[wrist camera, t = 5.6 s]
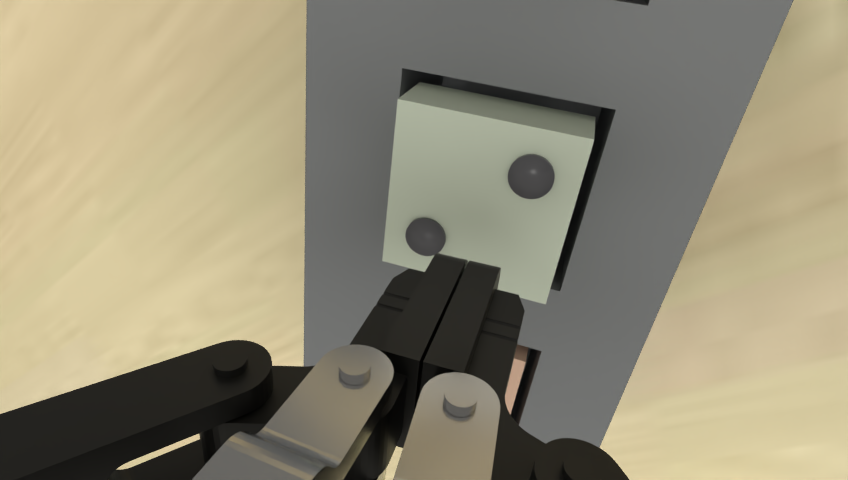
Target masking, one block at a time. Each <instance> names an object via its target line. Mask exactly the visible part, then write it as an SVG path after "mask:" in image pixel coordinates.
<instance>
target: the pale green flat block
mask: <svg viewBox="0 0 848 480" xmlns="http://www.w3.org/2000/svg"><path fill="white" fill-rule="evenodd" d="M594 137H595V117H593V116H588V115H583V114H578V113H573V112H568V111H563V110H558V109H553V108H548V107H543V106H538V105H533V104H528V103H523V102H518V101H513V100H508V99H503V98H498V97H493V96H488V95H483V94H478V93H473V92H468V91H463V90H458V89H453V88H448V87H443V86H438V85H433V84H428V83H423V82H419V83H418V84H417V85H415V86H414V87H413V88H411V89H410V90H409V91H407V92H406V93H405V94H404V95H402V96H401V97H400V98H398V101H397V112H396V122H395V132H394V143H393V153H392V164H391V174H390V185H389V195H388V205H387V216H386V226H385V237H384V247H383V258H382V261H384V262H388V263H392V264H395V265H399V266H403V267H407V268H411V269H414V270H419V271H423V272H425V271H426V269H427V267H428V266H429V264H430V262H431V260H432V259H433V257H434V255H435V254H436V253H440V254H444V255H448V256H453V257H457V258H461V259H466V260H468V262H469V261H475V262H479V263H483V264H487V265H492V266H496V267H500V268H501V272H500V278H499V284H498V289H497V290H501V291H505V292H509V293H514V294H518V295H519V297H520V298H523V299H527V300H531V301H534V302H538V303H542V304H546V302H547V298H548V295H549V291H550V288H551V285H552V281H553V278H554V275H555V271H556V268H557V264H558V261H559V258H560V254H561V251H562V247H563V244H564V241H565V237H566V234H567V231H568V227H569V224H570V220H571V217H572V214H573V210H574V207H575V204H576V200H577V197H578V193H579V190H580V187H581V183H582V180H583V176H584V173H585V170H586V166H587V163H588V160H589V156H590V153H591V149H592V146H593V143H594Z"/></svg>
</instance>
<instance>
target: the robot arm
mask: <svg viewBox="0 0 848 480" xmlns="http://www.w3.org/2000/svg"><path fill="white" fill-rule="evenodd" d="M500 272H501V268H500V267H496V266H492V265H487V264H483V263H479V262H475V261H469V262H468V260H466V259H461V258H457V257H453V256H448V255H444V254H440V253H436V254H435V255H434V257H433V259H432V260H431V262H430V264H429V266H428V267H427V269H426V271H425V272H423V271H419V270H414V269H410V268H409V269H407V270H406V271H404V272H402V273H401V274H399V275H397V276H395V277H394V278H393V279H392V280H391V282H390V283H389V285H388V286H387V288H386V289H385V291H384V294H382V296H381V297H380V299H379V300H378V302H377V304H376V306H374V308H373V309H372V311H371V312H370V314H369V315H368V317H367V318H366V320H365V322H364V323H363V325H362V326H361V328H360V329H359V331H358V332H357V334H356V335H355V337H354V338H353V340H352V341H351V343H350V345H345V346H341V347H338V348H335V349H333V350H331V351H329V352H328V353H327V354H325V355H324V356H323V357H322V358H321V359H320V360H319V362H318V363H317V364H316V365H315V366H304V367H297V366H272V361H271V356H270V354H269V353H268V351H267V350H266V349H265V348H264V347H262V346H261V345H259V344H257V343H254V342H250V341H244V340H232V341H226V342H222V343H218V344H215V345H212V346H209V347H206V348H203V349H200V350H197V351H194V352H190V353H187V354H184V355H181V356H178V357H175V358H172V359H169V360H166V361H163V362H160V363H157V364H153V365H150V366H147V367H144V368H141V369H138V370H135V371H132V372H129V373H126V374H123V375H120V376H117V377H113V378H110V379H107V380H104V381H101V382H98V383H95V384H92V385H89V386H86V387H83V388H80V389H76V390H73V391H70V392H67V393H64V394H61V395H58V396H55V397H52V398H49V399H46V400H43V401H39V402H36V403H33V404H30V405H27V406H24V407H21V408H18V409H15V410H12V411H9V412H6V413H2V414H0V480H384V479H385V475H386V467H387V466H388V464H389V461H390V459H391V457H392V454H393V452H394V450H395V447H396V446H398V447H401V448H403V450H402V453H401V457H400V460H399V463H398V466H397V469H396V472H395V476H394V479H393V480H629V479H628V477H627V476H626V475H625V473H624V472H623V471H622V469H621V468H620V467H619V466H618V464H617V463H616V462H615V461H614V460H613V459H612V457H610V456H609V455H608V454H607V453H606V452H605V451H603V450H602V449H600V448H599V447H597V446H595V445H593V444H591V443H589V442H586V441H583V440H579V439H574V438H560V439H555V440H552V441H550V442H548V443H546V444H545V443H544V442H542V441H540V440H539V439H537V438H535V437H534V436H532V435H531V434H529V433H528V432H526V431H525V430H524V429H522V428H521V427H520V426H519V425H518V424H517V423H516V422H515V421H514V419H513V418H512V416H511V415H510V413H509V411H508V409H507V406H506V403H505V394H506V390H507V386H508V382H509V377H510V373H511V369H512V365H513V361H514V356H515V352H516V347H517V343H518V338H519V334H520V330H521V325H522V321H523V316H524V312H525V310H524V307H523V305H522V302H521V300H520V297H519V295H518V294H514V293H509V292H505V291H501V290H497V289H498V284H499V278H500ZM198 433H199V434H200V440H197V441H195V442H192V443H190V444H187V445H185V446H182V447H180V448H178V449H175V450H173V451H170V452H168V453H165V454H163V455H160V456H158V457H156V458H153V459H151V460H148V461H146V462H143V463H141V464H138V465H136V466H134V467H131V468H128V469H123V470H116V469H117V468H118V467H120V466H121V465H123V464H125V463H127V462H129V461H131V460H134V459H136V458H139V457H141V456H144V455H146V454H149V453H151V452H154V451H156V450H159V449H161V448H164V447H166V446H169V445H171V444H174V443H176V442H179V441H181V440H183V439H186V438H188V437H191V436H193V435H196V434H198Z"/></svg>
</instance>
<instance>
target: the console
mask: <svg viewBox="0 0 848 480" xmlns="http://www.w3.org/2000/svg"><path fill="white" fill-rule="evenodd" d="M792 2H793V0H307V32H306V157H305V281H304V366H315V365H316V364H317V363H318V362H319V360H320V359H321V358H322V357H323V356H324V355H325V354H327V353H328V352H329V351H331V350H333V349H335V348H338V347H341V346H345V345H350V343H351V341H352V340H353V338H354V337H355V335H356V334H357V332H358V331H359V329H360V328H361V326H362V325H363V323H364V322H365V320H366V318H367V317H368V315H369V314H370V312H371V311H372V309H373V308H374V306H376V304H377V302H378V300H379V299H380V297H381V296H382V294H384V291H385V289H386V288H387V286H388V285H389V283H390V282H391V280H392V279H393V278H394V277H395V276H397V275H399V274H401V273H402V272H404V271H406V270H407V269H409V268H407V267H403V266H399V265H395V264H392V263H388V262H384V261H382V258H383V247H384V237H385V226H386V216H387V205H388V195H389V185H390V174H391V164H392V153H393V143H394V132H395V122H396V112H397V101H398V98H400V97H401V96H402V95H404V94H405V93H406V92H407V91H409V90H410V89H411V88H413V87H414V86H415V85H417V84H418V83H419V82H423V83H428V84H433V85H438V86H443V87H448V88H453V89H458V90H463V91H468V92H473V93H478V94H483V95H488V96H493V97H498V98H503V99H508V100H513V101H518V102H523V103H528V104H533V105H538V106H543V107H548V108H553V109H558V110H563V111H568V112H573V113H578V114H583V115H588V116H593V117H595V137H594V143H593V146H592V149H591V153H590V156H589V160H588V163H587V166H586V170H585V173H584V176H583V180H582V183H581V187H580V190H579V193H578V197H577V200H576V204H575V207H574V210H573V214H572V217H571V220H570V224H569V227H568V231H567V234H566V237H565V241H564V244H563V247H562V251H561V254H560V258H559V261H558V264H557V268H556V271H555V275H554V278H553V281H552V285H551V288H550V291H549V295H548V298H547V302H546V304H542V303H538V302H534V301H531V300H527V299H523V298H520V300H521V302H522V305H523V307H524V310H525V312H524V316H523V321H522V325H521V330H520V334H519V338H518V343H517V344H518V345H522V346H525V347H529V348H528V353H527V358H526V363H525V367H524V370H523V373H522V377H521V380H520V384H519V387H518V391H517V394H516V397H515V401H514V404H513V408H512V411H511V414H510V415H511V416H512V418H513V419H514V421H515V422H516V423H517V424H518V425H519V426H520V427H521V428H522V429H524V430H525V431H526V432H528V433H529V434H531V435H532V436H534V437H535V438H537V439H539V440H540V441H542V442H544V443H545V444H546V443H548V442H550V441H552V440H555V439H560V438H574V439H579V440H583V441H586V442H589V443H591V444H593V445H595V446H597V447H600V445H601V443H602V440H603V438H604V436H605V433H606V431H607V429H608V426H609V424H610V422H611V420H612V417H613V415H614V413H615V410H616V408H617V406H618V403H619V401H620V399H621V397H622V394H623V392H624V390H625V387H626V385H627V383H628V380H629V378H630V376H631V373H632V371H633V369H634V367H635V364H636V362H637V360H638V357H639V355H640V353H641V350H642V348H643V346H644V344H645V341H646V339H647V337H648V334H649V332H650V330H651V327H652V325H653V323H654V320H655V318H656V316H657V314H658V311H659V309H660V307H661V304H662V302H663V300H664V297H665V295H666V293H667V291H668V288H669V286H670V284H671V281H672V279H673V277H674V274H675V272H676V270H677V267H678V265H679V263H680V261H681V258H682V256H683V254H684V251H685V249H686V247H687V244H688V242H689V240H690V238H691V235H692V233H693V231H694V228H695V226H696V224H697V221H698V219H699V217H700V214H701V212H702V210H703V208H704V205H705V203H706V201H707V198H708V196H709V194H710V191H711V189H712V187H713V185H714V182H715V180H716V178H717V175H718V173H719V171H720V168H721V166H722V164H723V161H724V159H725V157H726V155H727V152H728V150H729V148H730V145H731V143H732V141H733V138H734V136H735V134H736V132H737V129H738V127H739V125H740V122H741V120H742V118H743V115H744V113H745V111H746V108H747V106H748V104H749V102H750V99H751V97H752V95H753V92H754V90H755V88H756V85H757V83H758V81H759V79H760V76H761V74H762V72H763V69H764V67H765V65H766V62H767V60H768V58H769V55H770V53H771V51H772V49H773V46H774V44H775V42H776V39H777V37H778V35H779V32H780V30H781V28H782V26H783V23H784V21H785V19H786V16H787V14H788V12H789V9H790V7H791V5H792ZM410 269H411V268H410Z"/></svg>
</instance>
